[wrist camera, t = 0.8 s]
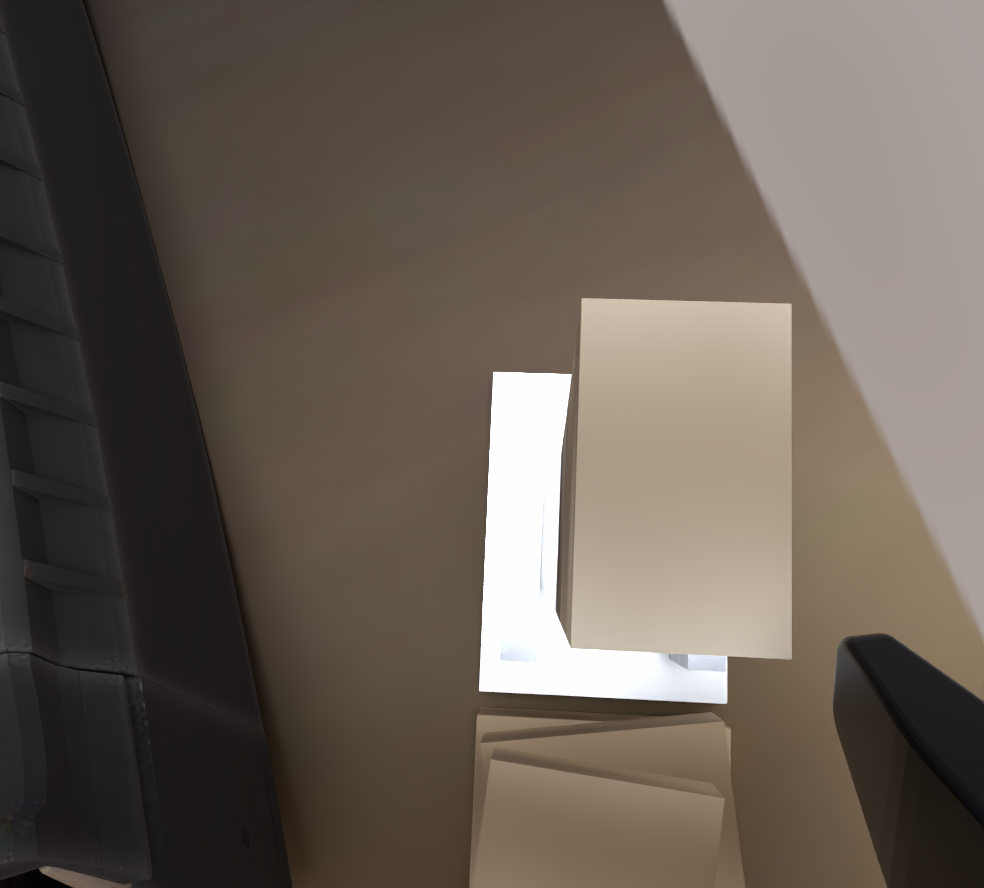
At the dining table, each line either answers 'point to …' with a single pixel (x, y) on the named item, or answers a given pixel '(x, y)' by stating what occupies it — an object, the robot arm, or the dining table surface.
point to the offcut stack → (603, 801)
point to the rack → (553, 570)
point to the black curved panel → (108, 521)
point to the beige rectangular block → (678, 480)
